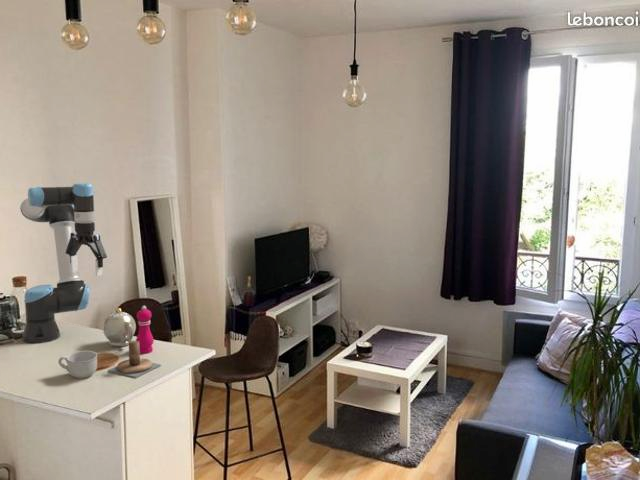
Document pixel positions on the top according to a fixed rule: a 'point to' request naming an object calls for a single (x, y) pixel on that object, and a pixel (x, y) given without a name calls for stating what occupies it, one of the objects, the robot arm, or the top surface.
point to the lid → (134, 361)
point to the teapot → (119, 328)
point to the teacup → (80, 363)
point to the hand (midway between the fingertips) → (86, 273)
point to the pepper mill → (144, 331)
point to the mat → (135, 373)
